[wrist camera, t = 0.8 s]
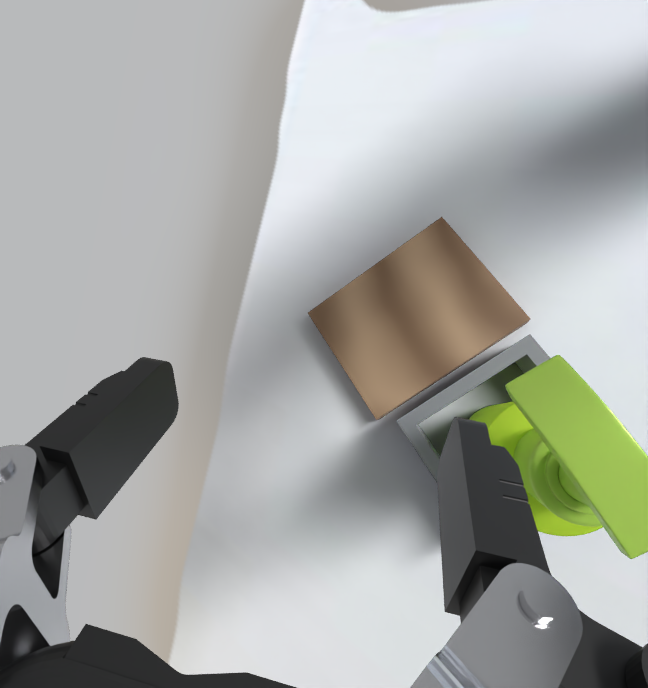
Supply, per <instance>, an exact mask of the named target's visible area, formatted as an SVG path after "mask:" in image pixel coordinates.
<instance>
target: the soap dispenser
mask: <svg viewBox="0 0 648 688" xmlns="http://www.w3.org/2000/svg"><path fill="white" fill-rule="evenodd" d="M505 387H506V390H507V392H508V394H509V396H510V398H511V399H512V401H513V402H507V403H502V404H497V405H492V406H488V407H485V408H482V409H480V410H479V411H477V412H476V413H474V414H473V415H472V416H471V417H470V418H469V420H474V421H479V422H484V423H486V425H487V428H488V432H489V437H490V441H491V445H496V446H501V447H505V448H506V449H507V451H508V452H509V453H510V455H511V456H512V457H513V459H514V460H515V461H516V463H517V464H518V466H519V469H520V473H521V476H522V480H523V483H524V485H523V487H524V488H525V490H526V493H527V497H528V504H530V507H531V510H532V514H533V517H534V521H535V524H536V527H537V531H540V532H543V533H546V534H551V535H557V536H577V535H583V534H587V533H591V532H593V531H596V530H598V529H600V528H602V527H604V528H605V530H606V531H607V533H608V534H609V536H610V537H611V538H612V540H613V541H614V543H615V544H616V546H617V547H618V548H619V550H620V551H621V552H622V553H623V554H624V555H626V556H627V557H629V558H630V559H633V558H635V557H637V556H640V555H642V554H644V553H646V552H648V456H647V455H646V454H645V452H644V451H643V450H642V448H641V447H640V446H639V445H638V443H637V442H636V441H635V439H634V438H633V437H632V436H631V434H630V433H629V432H628V431H627V429H626V428H625V427H624V426H623V425H622V423H621V422H620V421H619V420H618V419H617V417H616V416H615V415H614V414H613V413H612V411H611V410H610V409H609V408H608V407H607V406H606V404H605V403H604V402H603V401H602V400H601V399H600V398H599V396H598V395H597V394H596V393H595V392H594V391H593V390H592V389H591V388H590V386H589V385H588V384H587V383H586V382H585V381H584V380H583V379H582V378H581V377H580V376H579V374H578V373H577V372H576V371H575V370H574V369H573V368H572V367H571V366H570V365H569V364H568V363H567V362H566V361H565V360H564V359H563V358H562V357H561V356H560V355H556V356H554V357H552V358H550V359H549V360H547V361H545V362H543V363H542V364H540V365H538V366H536V367H535V368H533V369H531V370H529V371H528V372H526V373H524V374H522V375H521V376H519V377H517V378H515V379H514V380H512V381H510V382H508V383H507V384H506V385H505Z"/></svg>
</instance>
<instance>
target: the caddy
mask: <svg viewBox="0 0 648 688" xmlns="http://www.w3.org/2000/svg"><path fill="white" fill-rule="evenodd" d="M549 359H550V357H549V356H548V355H547V354H546V352H545V351H544V350H543V349H542V348H541V347H540V345H539V344H538V343H537V342H536V341H535V340H534V338H533V337H532V336H531V335H530V334H529V335H528V336H526V337H525V338H523V339H522V340H520V341H518V342H517V343H515V344H514V345H512V346H511V347H509V348H508V349H506V350H505V351H503V352H501V353H500V354H498V355H497V356H495V357H494V358H492V359H491V360H489V361H488V362H486V363H484V364H483V365H481V366H480V367H478V368H477V369H475V370H474V371H472V372H471V373H469V374H467V375H466V376H464V377H463V378H461V379H460V380H458V381H457V382H455V383H454V384H452V385H450V386H449V387H447V388H446V389H444V390H443V391H441V392H440V393H438V394H437V395H435V396H433V397H432V398H430V399H429V400H427V401H426V402H424V403H423V404H421V405H420V406H418V407H417V408H415V409H413V410H412V411H410V412H409V413H407V414H406V415H404V416H403V417H401V418H400V419H398V420H396V421H397V423H398V424H399V426H400V427H401V429H402V430H403V432H404V433H405V435H406V436H407V438H408V439H409V441H410V442H411V444H412V445H413V447H414V448H415V450H416V452H417V453H418V455H419V456H420V458H421V459H422V461H423V462H424V464H425V465H426V467H427V468H428V470H429V471H430V473H431V474H432V476H433V477H434V479H435V480H436V482H437V473H438V465H439V460H440V456H439V454H438V453H437V451H436V450H435V448H434V447H433V445H432V444H431V442H430V441H429V439H428V438H427V437H426V435H425V434H424V432H423V431H422V429H421V428H420V426H419V425H418V424H419V423H421V422H422V421H424V420H425V419H427V418H428V417H430V416H432V415H433V414H435V413H436V412H438V411H439V410H441V409H443V408H444V407H446V406H447V405H449V404H450V403H452V402H453V401H455V400H457V399H458V398H460V397H461V396H463V395H464V394H466V393H468V392H469V391H471V390H472V389H474V388H475V387H477V386H478V385H480V384H482V383H483V382H485V381H486V380H488V379H489V378H491V377H493V376H494V375H496V374H497V373H499V372H500V371H502V370H503V369H505V368H507V367H508V366H510V365H511V364H513V363H514V362H515V363H516V364H517V365H518V366H519V367H520V369H521V370H522V371H523V372H524V373H526V372H528V371H529V370H531V369H533V368H535V367H536V366H538V365H540V364H542V363H543V362H545V361H547V360H549Z"/></svg>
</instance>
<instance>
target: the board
mask: <svg viewBox="0 0 648 688" xmlns="http://www.w3.org/2000/svg"><path fill="white" fill-rule="evenodd" d="M308 314H309V316H310V317H311V319H312V320H313V322H314V324H315V325H316V327H317V328H318V330H319V331H320V333H321V334H322V336H323V338H324V339H325V341H326V342H327V344H328V345H329V347H330V348H331V350H332V352H333V353H334V355H335V356H336V358H337V359H338V361H339V362H340V364H341V366H342V367H343V369H344V370H345V372H346V373H347V375H348V376H349V378H350V380H351V381H352V383H353V384H354V386H355V387H356V389H357V390H358V392H359V394H360V395H361V397H362V398H363V400H364V401H365V403H366V404H367V406H368V408H369V409H370V411H371V412H372V414H373V415H374V417H375V418H376V420H379V419H381V418H382V417H384V416H385V415H387V414H388V413H390V412H391V411H393V410H394V409H396V408H397V407H399V406H400V405H402V404H404V403H405V402H407V401H408V400H410V399H411V398H413V397H414V396H416V395H417V394H419V393H420V392H422V391H424V390H425V389H427V388H428V387H430V386H431V385H433V384H434V383H436V382H437V381H439V380H440V379H442V378H443V377H445V376H447V375H448V374H450V373H451V372H453V371H454V370H456V369H457V368H459V367H460V366H462V365H463V364H465V363H466V362H468V361H470V360H471V359H473V358H474V357H476V356H477V355H479V354H480V353H482V352H483V351H485V350H486V349H488V348H489V347H491V346H493V345H494V344H496V343H497V342H499V341H500V340H502V339H503V338H505V337H506V336H508V335H509V334H511V333H512V332H514V331H516V330H517V329H519V328H520V327H522V326H523V325H525V324H526V323H527V322H528V321H529V320H530V318H529V317H528V316H527V314H526V313H525V312H524V311H523V310H522V309H521V307H520V306H519V305H518V304H517V303H516V302H515V301H514V299H513V298H512V297H511V296H510V295H509V294H508V292H507V291H506V290H505V289H504V288H503V287H502V286H501V284H500V283H499V282H498V281H497V280H496V279H495V277H494V276H493V275H492V274H491V273H490V272H489V271H488V269H487V268H486V267H485V266H484V265H483V264H482V262H481V261H480V260H479V259H478V258H477V257H476V256H475V254H474V253H473V252H472V251H471V250H470V249H469V248H468V246H467V245H466V244H465V243H464V242H463V241H462V239H461V238H460V237H459V236H458V235H457V234H456V233H455V231H454V230H453V229H452V228H451V227H450V226H449V224H448V223H447V222H446V221H445V220H444V219H443V218H442V217H441V218H440V219H438V220H437V221H435V222H434V223H433V224H431V225H430V226H428V227H427V228H426V229H424V230H423V231H421V232H420V233H419V234H417V235H416V236H414V237H413V238H412V239H410V240H409V241H407V242H406V243H405V244H403V245H402V246H400V247H399V248H398V249H396V250H395V251H393V252H392V253H391V254H389V255H388V256H386V257H385V258H384V259H382V260H381V261H380V262H378V263H377V264H375V265H374V266H373V267H371V268H370V269H368V270H367V271H366V272H364V273H363V274H361V275H360V276H359V277H357V278H356V279H354V280H353V281H352V282H350V283H349V284H347V285H346V286H345V287H343V288H342V289H340V290H339V291H338V292H336V293H335V294H333V295H332V296H331V297H329V298H328V299H326V300H325V301H324V302H322V303H321V304H319V305H318V306H317V307H315V308H314V309H312V310H311V311H310V312H308Z"/></svg>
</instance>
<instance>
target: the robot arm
mask: <svg viewBox="0 0 648 688" xmlns="http://www.w3.org/2000/svg"><path fill="white" fill-rule="evenodd" d="M178 404H179V403H178V397H177V391H176V385H175V379H174V373H173V368H172V365H171V364H170V363H169V362H167V361H162V360H156V359H151V358H146V357H142V358H140V359H138V360H137V361H136V362H135V363H134V364H133V365H131V366H130V367H129V368H128V369H127V370H126V371H120V372H118V373H116V374H114V375H112V376H110V377H108V378H106V379H104V380H102V381H101V382H100V383H98V384H97V385H96V386H95V387H94V388H92V389H91V390H90V391H89V392H88V394H87V395H84V396H83V397H82V398H80V399H79V400H78V401H77V402H76V405H72V406H71V407H70V408H69V409H67V410H66V411H65V412H64V413H63V414H61V415H60V416H59V417H58V418H57V419H56V420H54V421H53V422H52V423H51V424H49V425H48V426H47V427H46V428H45V429H43V430H42V431H41V432H40V433H39V434H38V435H37V436H35V437H34V438H33V439H32V440H30V441H29V442H28V443H27V444H25V445H9V446H3V447H0V688H296V687H293V686H289V685H286V684H283V683H279V682H276V681H273V680H269V679H266V678H263V677H260V676H256V675H253V674H250V673H223V674H199V675H184V674H181V673H179V672H177V671H176V670H175V669H173V668H172V667H171V666H169V665H168V664H167V663H166V662H164V661H163V660H162V659H161V658H159V657H158V656H157V655H156V654H154V653H153V652H152V651H150V650H149V649H148V648H147V647H145V646H144V645H143V644H141V643H140V642H139V641H138V640H137V639H134V638H131V637H128V636H124V635H121V634H117V633H114V632H111V631H108V630H104V629H101V628H98V627H94V626H91V625H88V624H86V625H85V626H84V628H83V629H82V631H81V632H80V634H79V635H78V637H77V638H76V640H75V641H70V633H69V626H68V622H67V617H66V606H65V605H66V604H65V603H66V591H67V579H68V567H69V555H70V543H71V527H70V523H71V522H72V521H73V520H74V519H75V517H76V516H77V515H81V516H85V517H89V518H93V519H97V518H98V516H99V515H100V514H101V513H102V511H103V510H104V509H105V508H106V506H107V505H108V504H109V503H110V501H111V500H112V499H113V498H114V496H115V495H116V493H118V491H119V490H120V489H121V487H122V486H123V485H124V484H125V482H126V481H127V480H128V479H129V477H130V476H131V475H132V474H133V472H134V471H135V470H136V469H137V467H138V466H139V465H140V463H141V462H142V461H143V460H144V459H145V457H146V456H147V455H148V454H149V452H150V451H151V450H152V448H153V447H154V446H155V445H156V443H157V442H158V441H159V440H160V438H161V437H162V436H163V435H164V433H165V432H166V431H167V430H168V428H169V427H170V426H171V425H172V423H173V422H174V419H175V418H176V415H177V412H178ZM437 485H438V502H439V519H440V537H441V554H442V571H443V589H444V606H445V612H448V613H452V614H455V615H459V616H460V619H461V625H460V626H459V627H458V629H457V630H456V631H455V633H454V634H453V635H452V637H451V638H450V639H449V641H448V642H447V644H446V645H445V646H444V647H443V649H442V650H441V651H440V652H438V653H437V654H436V655H435V656H434V657H433V659H432V660H431V661H430V662H429V664H428V665H427V666H426V668H425V669H424V670H423V671H422V673H421V674H420V675H419V677H418V678H417V680H416V681H415V682H414V684H413V685H412V686H411V688H648V644H646V645H645V646H644V647H641V646H639V645H637V644H635V643H634V642H632V641H630V640H628V639H626V638H625V637H623V636H621V635H619V634H617V633H616V632H614V631H612V630H610V629H608V628H607V627H605V626H603V625H601V624H599V623H598V622H596V621H594V620H593V619H591V618H589V617H588V616H587V615H585V614H584V613H583V612H581V611H580V610H579V609H578V608H577V606H576V604H575V602H574V600H573V599H572V597H571V596H570V594H569V593H568V592H567V590H566V589H565V588H564V587H563V586H562V585H561V584H560V583H559V582H558V581H557V580H556V579H555V578H554V577H552V575H551V573H550V571H549V568H548V565H547V561H546V558H545V555H544V551H543V548H542V544H541V541H540V538H539V534H538V531H537V527H536V524H535V521H534V517H533V514H532V510H531V507H530V504H528V497H527V493H526V490H525V488H524V487H523V485H524V483H523V480H522V476H521V473H520V469H519V466H518V464H517V463H516V461H515V460H514V459H513V457H512V456H511V455H510V453H509V452H508V451H507V449H506V448H505V447H501V446H496V445H491V441H490V437H489V432H488V428H487V425H486V423H484V422H479V421H474V420H468V419H463V418H458V417H455V418H454V419H453V421H452V424H451V427H450V430H449V433H448V435H447V438H446V441H445V444H444V447H443V450H442V453H441V456H440V460H439V465H438V473H437Z"/></svg>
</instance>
